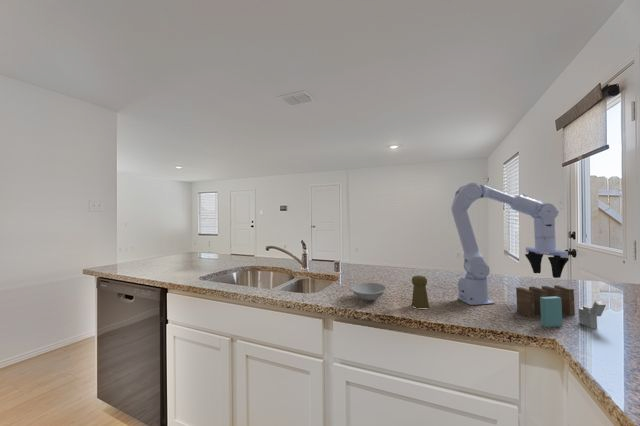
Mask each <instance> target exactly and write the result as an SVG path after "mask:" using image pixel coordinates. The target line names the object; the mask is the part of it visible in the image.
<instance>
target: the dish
mask: <svg viewBox="0 0 640 426" xmlns="http://www.w3.org/2000/svg"><path fill="white" fill-rule="evenodd" d="M350 291H351V292H353V294H354V295H355V296H356V297H358V298H359V299H361V300H365V301H368V300H371V301H372V300H376V299H378V298H380V297H381V296H383V294H385V292H387V291H388V286H387V285H385V284H383V283H379V282H371V281H370V282H366V281H365V282H358V283H355V284H352V285H351V286H350Z"/></svg>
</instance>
